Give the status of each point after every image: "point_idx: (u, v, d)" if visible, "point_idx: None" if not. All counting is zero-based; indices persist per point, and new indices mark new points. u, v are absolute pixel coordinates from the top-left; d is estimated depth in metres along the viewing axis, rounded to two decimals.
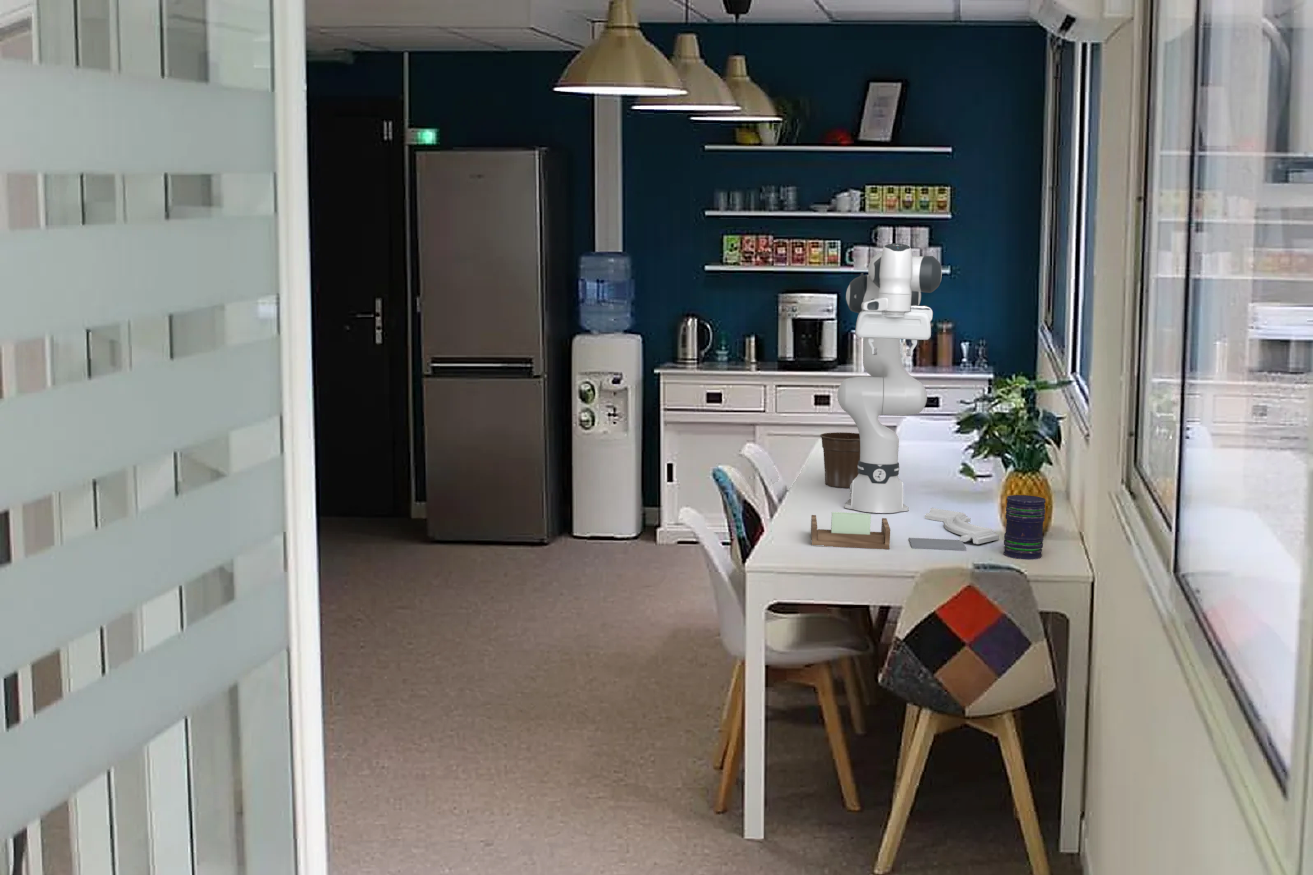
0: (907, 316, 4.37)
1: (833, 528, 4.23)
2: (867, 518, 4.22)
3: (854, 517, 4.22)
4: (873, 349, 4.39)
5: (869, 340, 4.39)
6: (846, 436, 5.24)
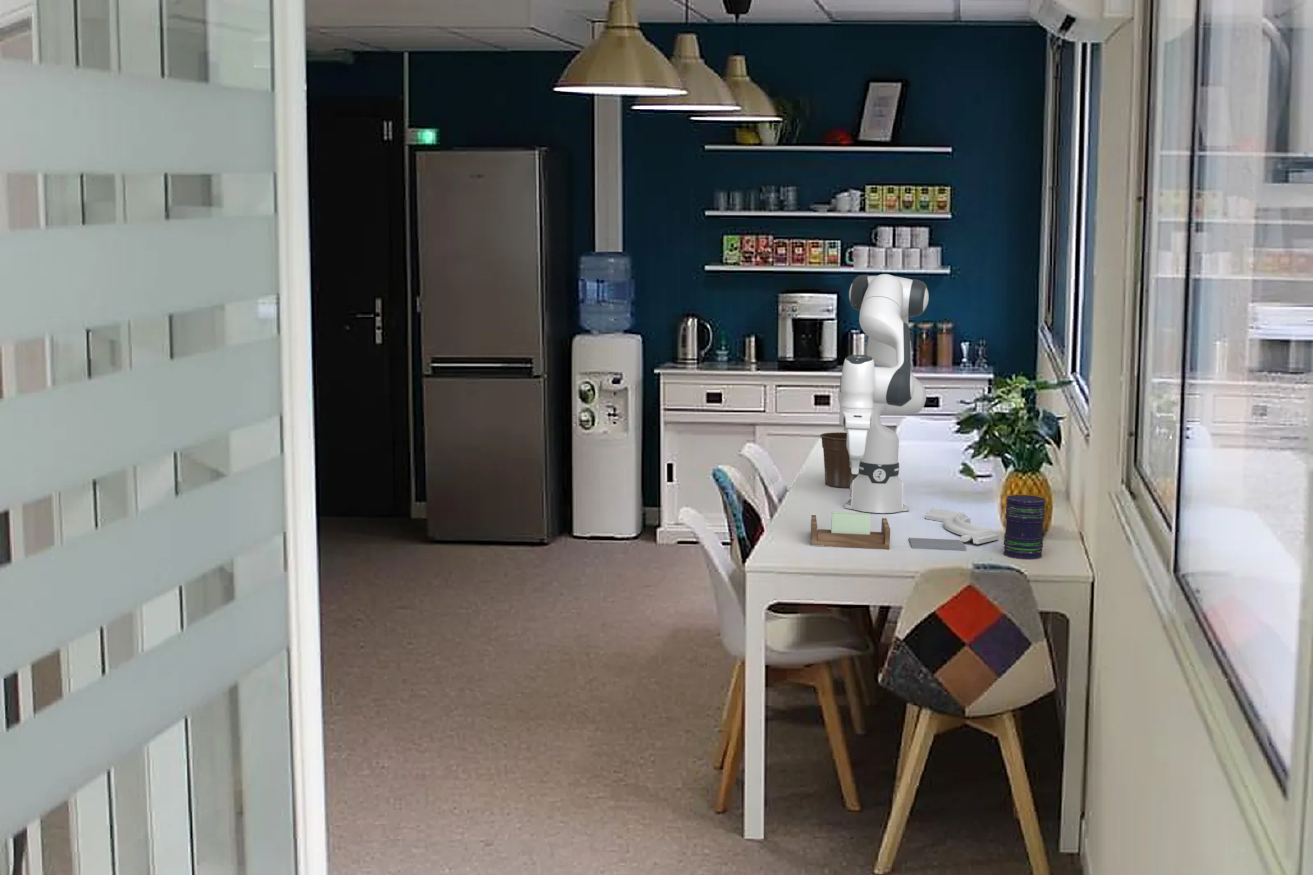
0: None
1: (833, 528, 4.23)
2: (867, 518, 4.22)
3: (854, 517, 4.22)
4: (858, 468, 4.16)
5: (859, 459, 4.15)
6: (846, 436, 5.24)
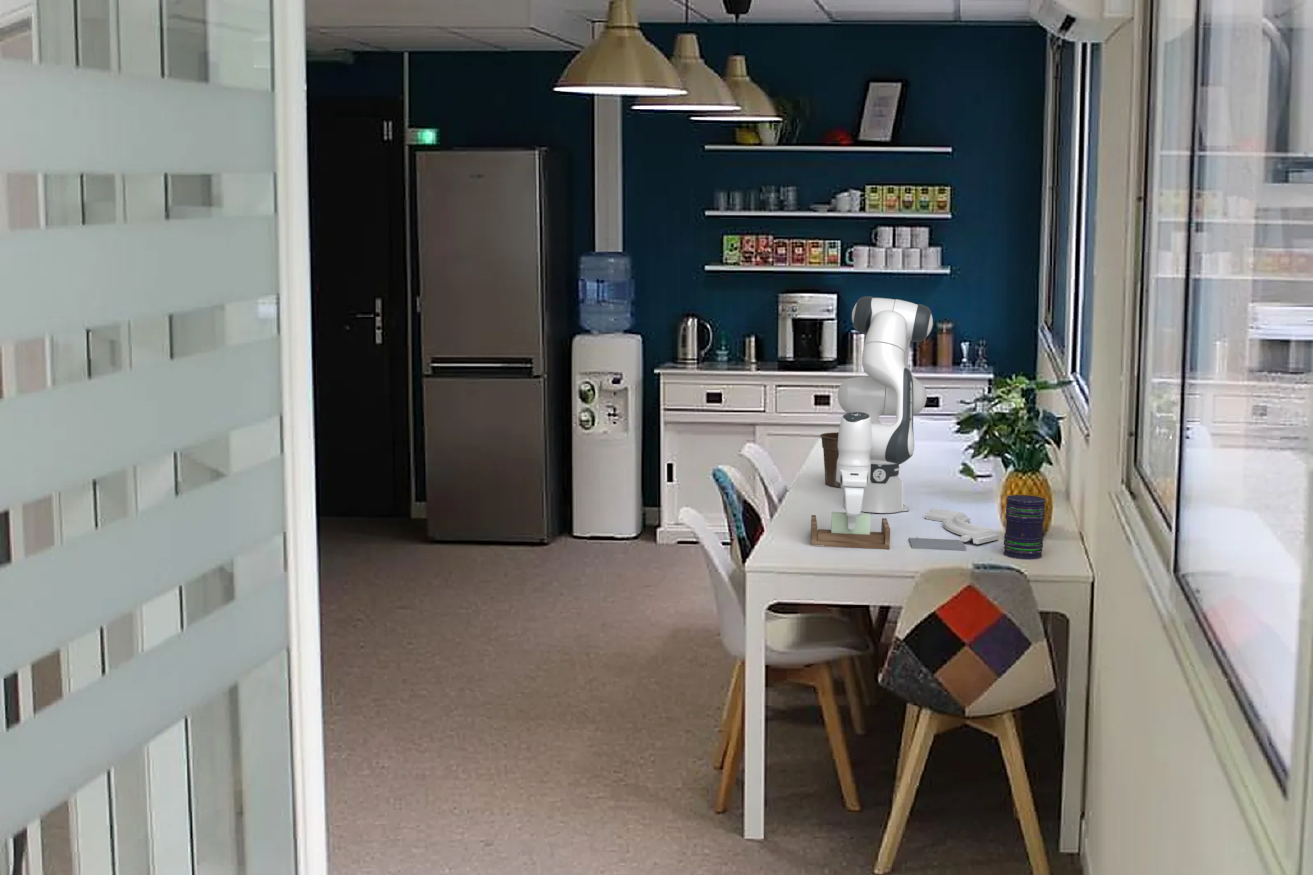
0: None
1: (833, 528, 4.23)
2: (867, 518, 4.22)
3: None
4: (854, 523, 4.21)
5: None
6: None
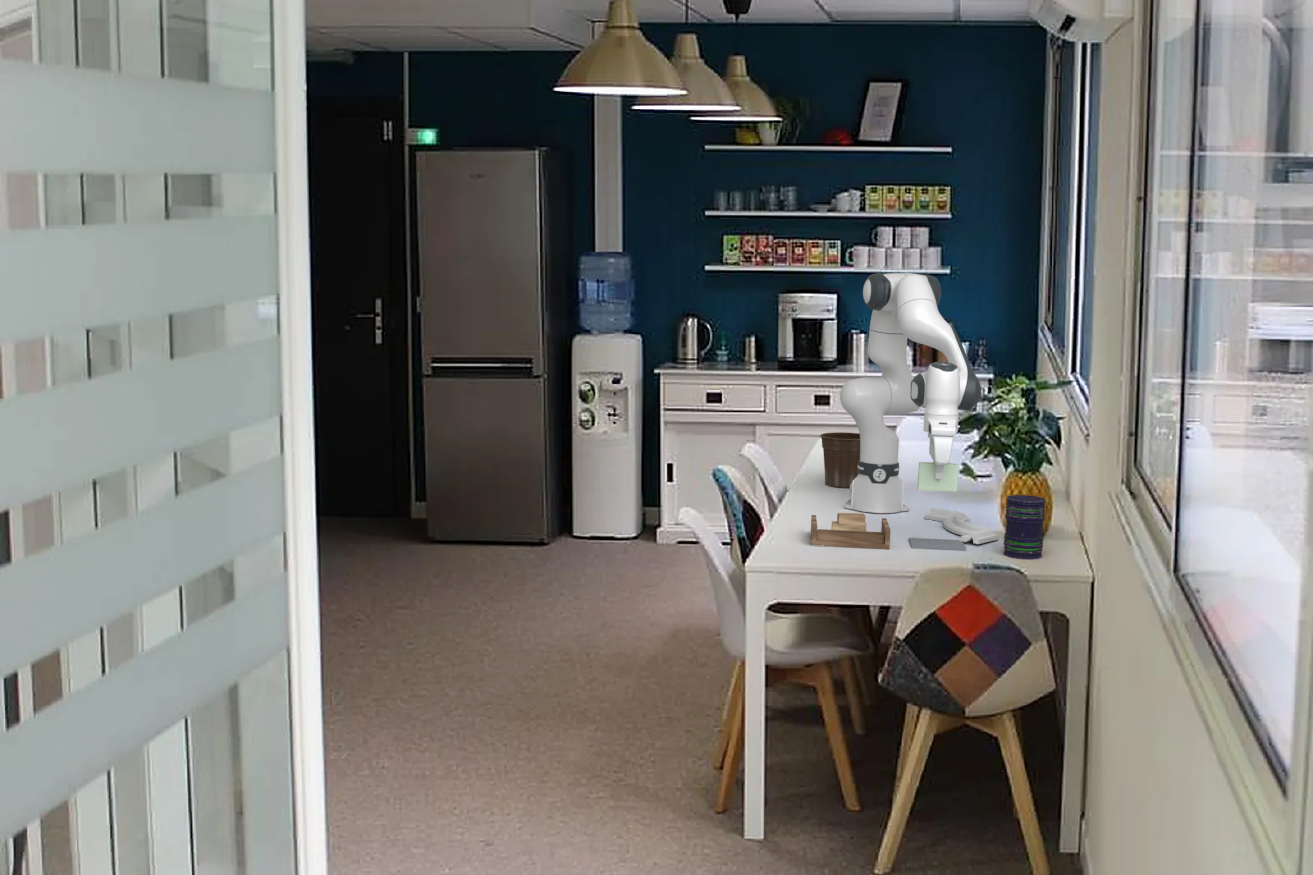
0: None
1: (920, 478, 4.24)
2: (955, 468, 4.23)
3: None
4: None
5: (943, 464, 4.20)
6: (846, 436, 5.24)
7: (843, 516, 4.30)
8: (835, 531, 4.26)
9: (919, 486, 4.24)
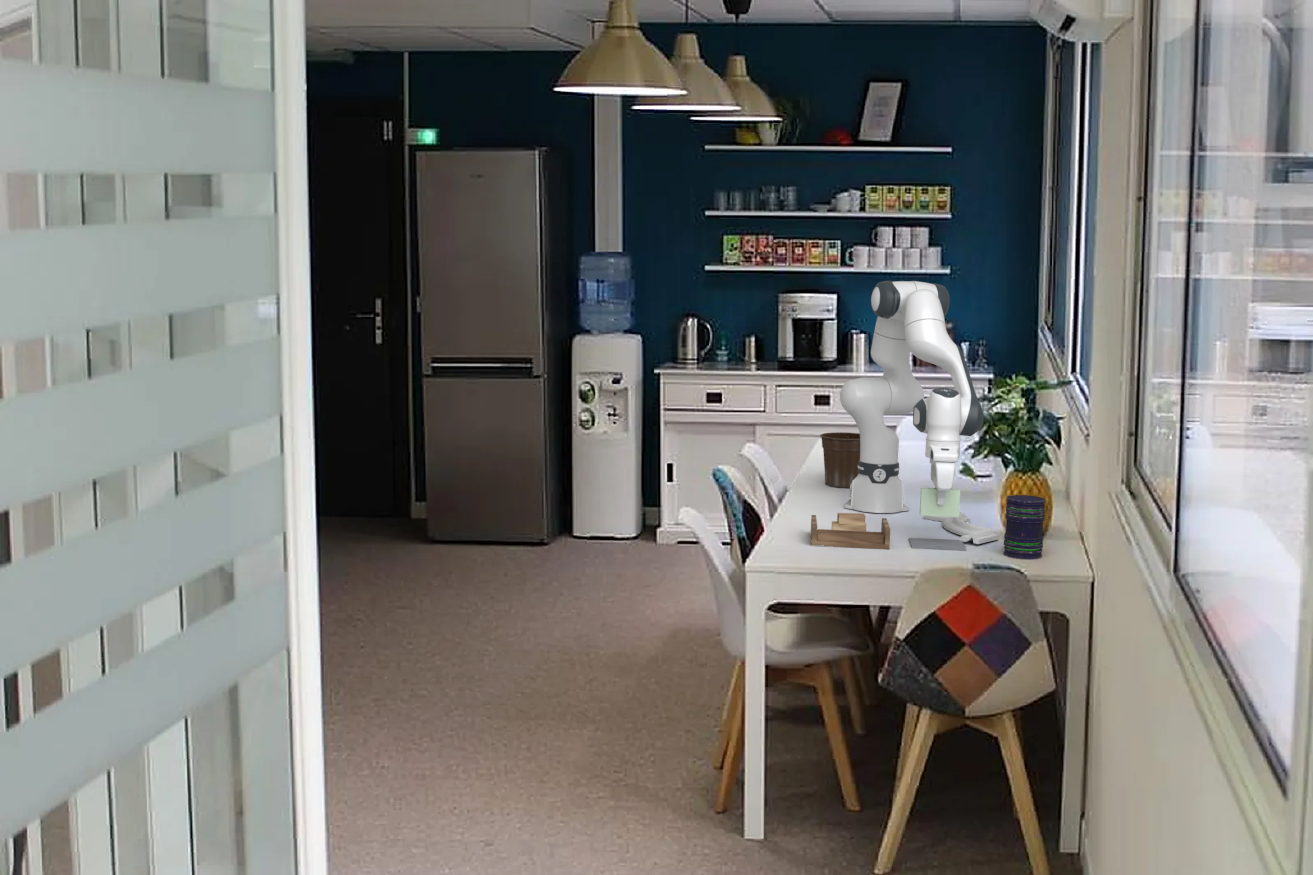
0: None
1: (922, 503, 4.25)
2: (957, 494, 4.24)
3: None
4: None
5: (945, 490, 4.21)
6: (846, 436, 5.24)
7: (843, 516, 4.30)
8: (835, 531, 4.26)
9: (921, 512, 4.25)
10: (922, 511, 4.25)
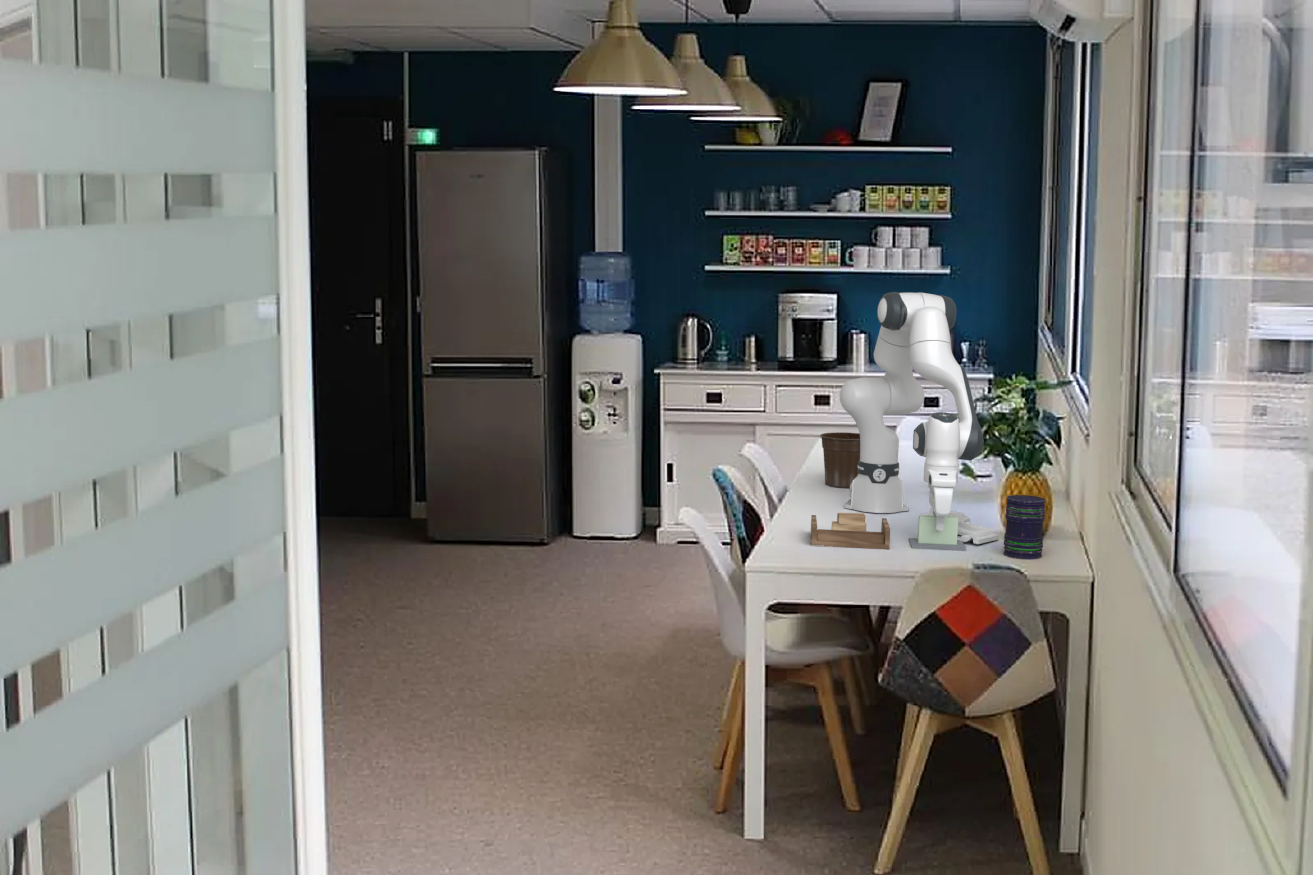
0: None
1: (920, 531, 4.26)
2: (955, 521, 4.25)
3: None
4: None
5: (944, 516, 4.21)
6: (846, 436, 5.24)
7: (843, 516, 4.30)
8: (835, 531, 4.26)
9: (919, 539, 4.26)
10: (920, 538, 4.26)
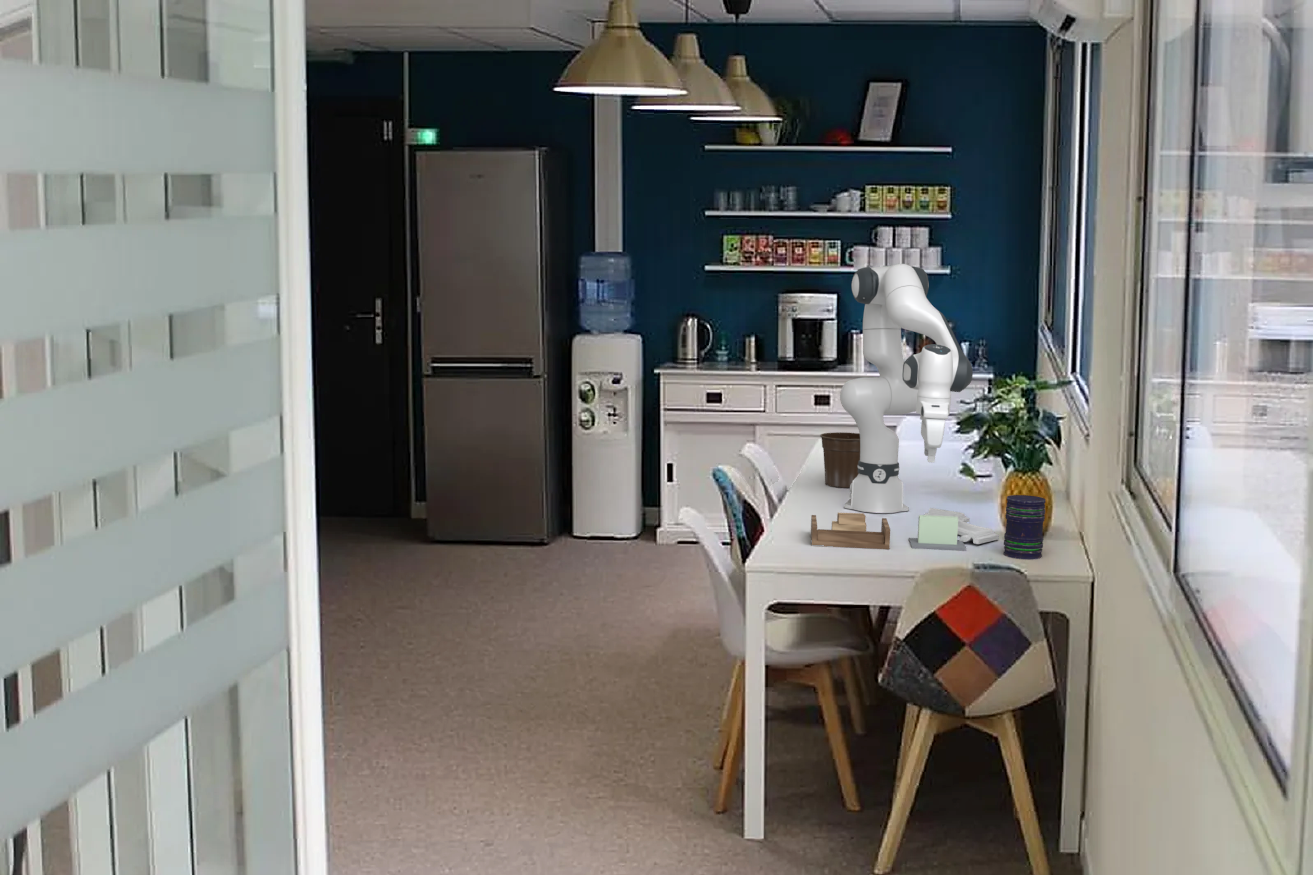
0: None
1: (920, 531, 4.26)
2: (955, 521, 4.25)
3: (941, 520, 4.25)
4: (934, 456, 4.24)
5: (936, 448, 4.22)
6: (846, 436, 5.24)
7: (843, 516, 4.30)
8: (835, 531, 4.26)
9: (919, 539, 4.26)
10: (920, 538, 4.26)
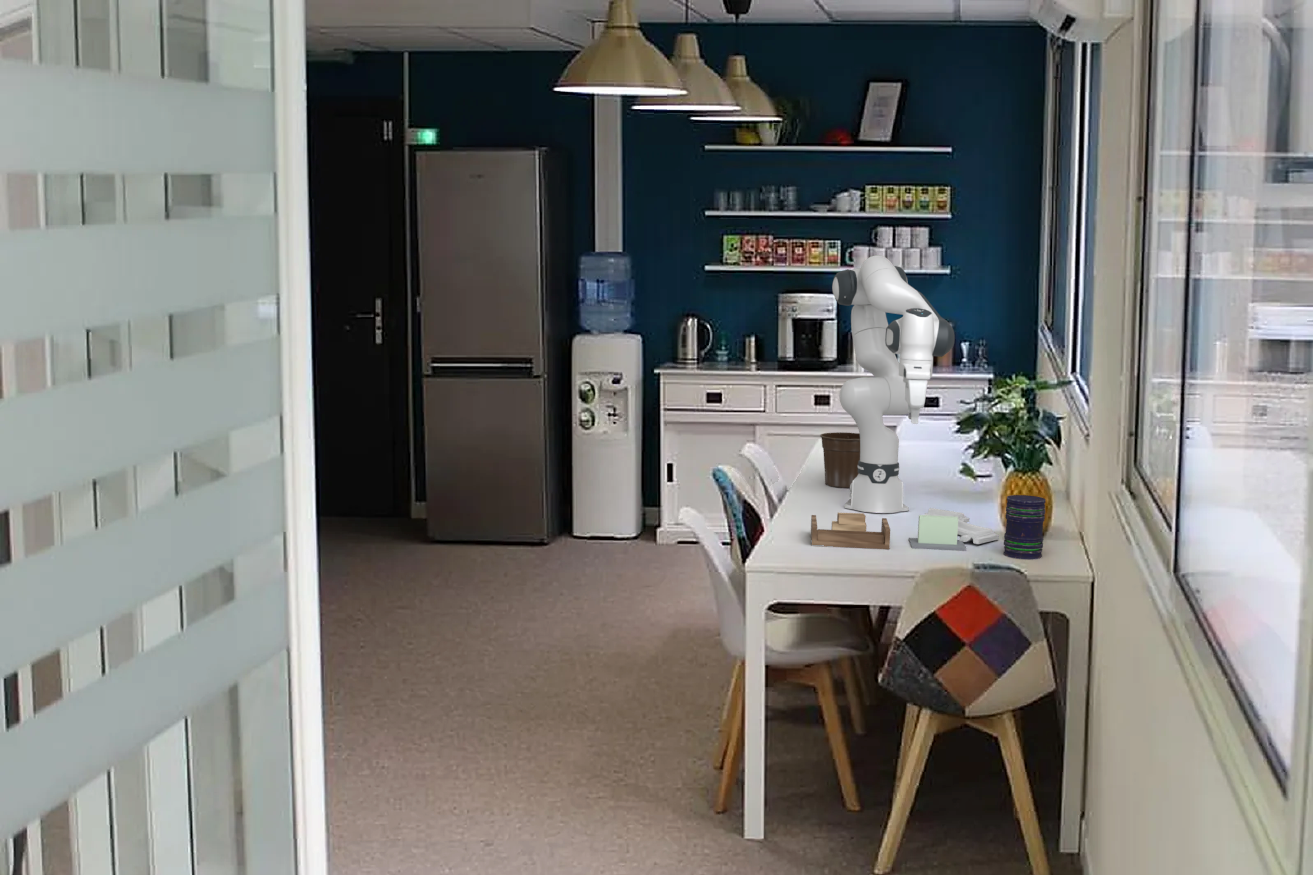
0: None
1: (920, 531, 4.26)
2: (955, 521, 4.25)
3: (941, 520, 4.25)
4: None
5: (919, 409, 4.28)
6: (846, 436, 5.24)
7: (843, 516, 4.30)
8: (835, 531, 4.26)
9: (919, 539, 4.26)
10: (920, 538, 4.26)
